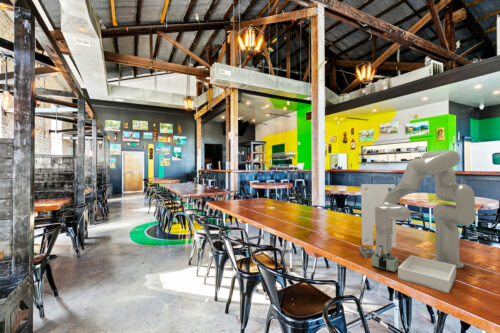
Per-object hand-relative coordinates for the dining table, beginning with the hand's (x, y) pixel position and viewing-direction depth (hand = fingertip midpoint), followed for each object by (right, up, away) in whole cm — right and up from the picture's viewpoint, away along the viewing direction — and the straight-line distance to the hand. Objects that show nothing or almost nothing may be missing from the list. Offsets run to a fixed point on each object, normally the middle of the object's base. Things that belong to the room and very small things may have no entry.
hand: (385, 265), depth 119 cm
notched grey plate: (+17, -2, +41) cm, 45 cm away
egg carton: (+1, -2, +19) cm, 19 cm away
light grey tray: (+14, -1, -10) cm, 17 cm away
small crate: (0, -1, 0) cm, 1 cm away
